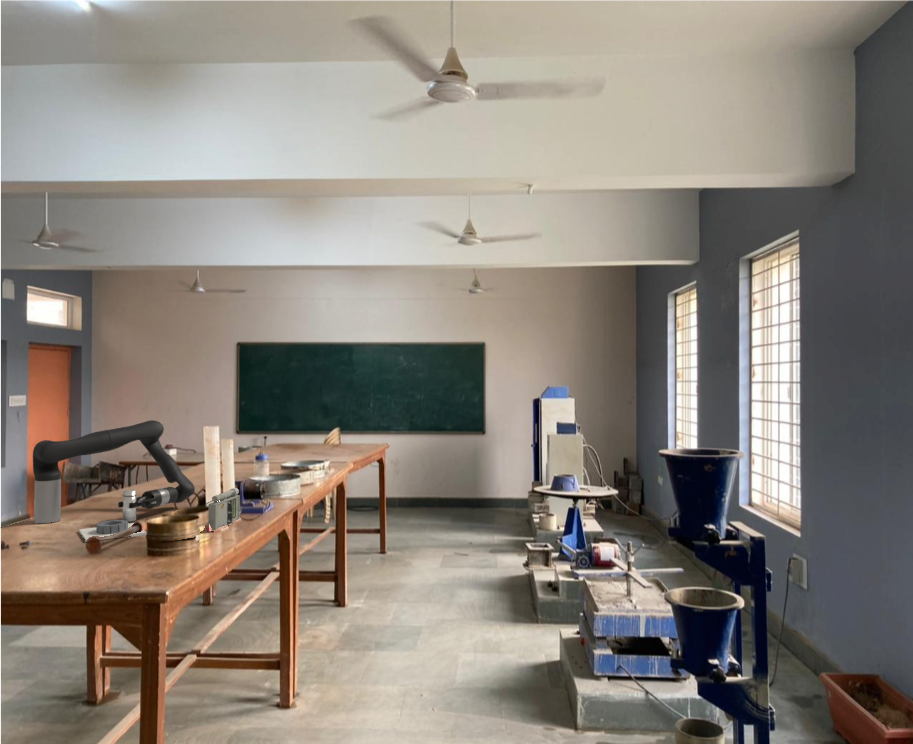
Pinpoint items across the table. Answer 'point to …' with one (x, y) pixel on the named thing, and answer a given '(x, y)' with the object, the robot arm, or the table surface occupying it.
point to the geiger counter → (224, 509)
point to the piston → (128, 497)
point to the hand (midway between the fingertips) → (124, 505)
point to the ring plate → (93, 532)
